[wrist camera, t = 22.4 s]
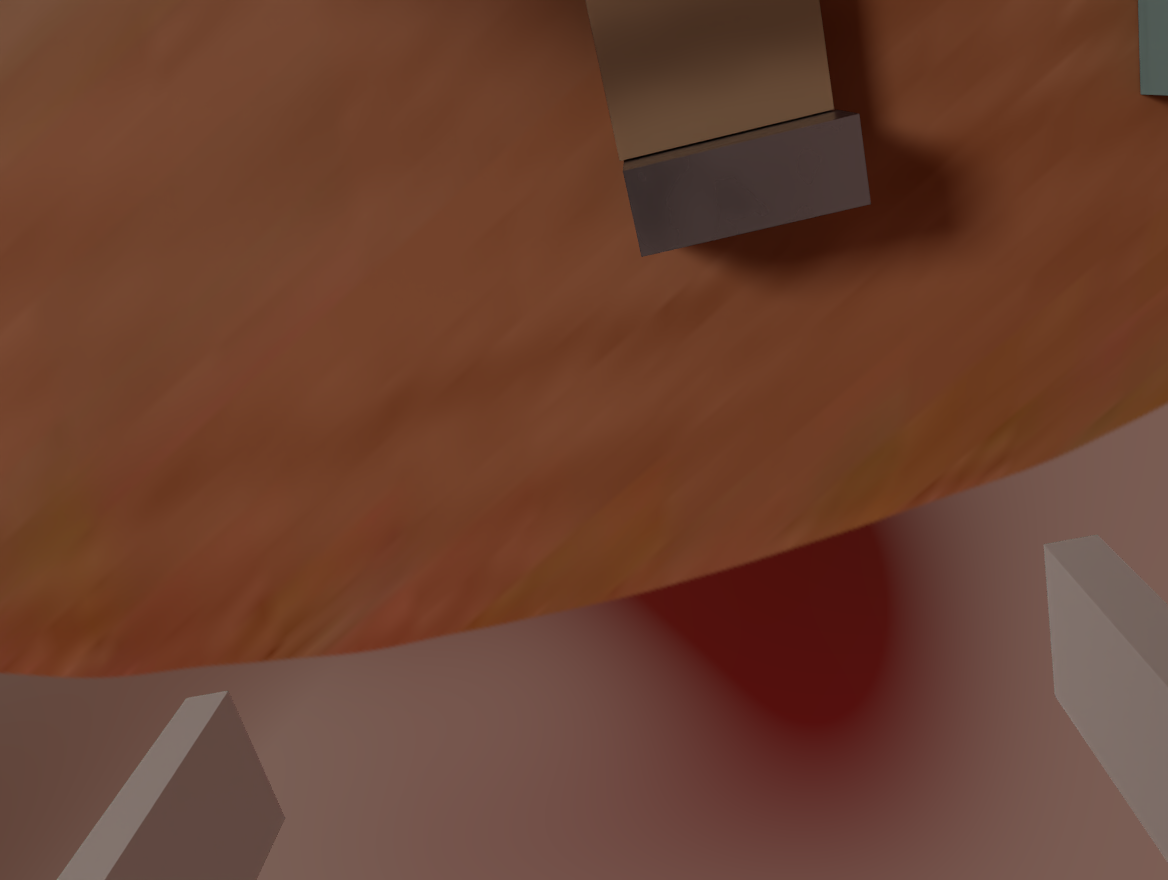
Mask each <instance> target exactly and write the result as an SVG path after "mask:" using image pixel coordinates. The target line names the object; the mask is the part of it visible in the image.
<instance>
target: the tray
mask: <svg viewBox="0 0 1168 880" xmlns="http://www.w3.org/2000/svg"><path fill="white" fill-rule="evenodd" d="M1138 14H1139V50H1140V86H1141V94H1145V95H1168V0H1138Z"/></svg>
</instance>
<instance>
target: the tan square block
mask: <svg viewBox="0 0 1168 880" xmlns="http://www.w3.org/2000/svg"><path fill="white" fill-rule="evenodd" d="M585 1H586V6H587V11H588V15H589V20H590V25H591V29H592V34H593V39H594V43H595V48H596V53H597V57H598V62H599V67H600V71H601V76H602V81H603V85H604V90H605V95H606V99H607V104H608V109H609V113H610V118H611V123H612V127H613V132H614V137H615V141H616V146H617V151H618V155H619V160H620V161H622V160H626V159H630V158H634V157H638V156H642V155H647V154H651V153H655V152H659V151H663V150H667V149H671V148H676V147H680V146H684V145H688V144H692V143H696V142H700V141H705V140H709V139H713V138H717V137H721V136H725V135H729V134H733V133H738V132H742V131H746V130H750V129H754V128H758V127H762V126H767V125H771V124H775V123H779V122H783V121H787V120H791V119H796V118H800V117H804V116H808V115H812V114H816V113H820V112H825V111H829V110H833V109H834V105H833V97H832V90H831V83H830V75H829V68H828V60H827V53H826V46H825V38H824V31H823V23H822V16H821V9H820V1H819V0H585Z"/></svg>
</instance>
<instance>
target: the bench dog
mask: <svg viewBox="0 0 1168 880" xmlns="http://www.w3.org/2000/svg"><path fill="white" fill-rule="evenodd" d="M623 173H624V178H625V182H626V187H627V192H628V196H629V201H630V205H631V210H632V215H633V219H634V224H635V228H636V233H637V238H638V242H639V247H640V252H641V256H642V257H643V256H647V255H652V254H656V253H660V252H665V251H669V250H673V249H678V248H682V247H686V246H691V245H695V244H700V243H704V242H708V241H713V240H717V239H721V238H726V237H730V236H734V235H739V234H743V233H747V232H752V231H756V230H760V229H765V228H769V227H773V226H778V225H782V224H786V223H791V222H795V221H800V220H804V219H808V218H813V217H817V216H821V215H826V214H830V213H834V212H839V211H843V210H847V209H852V208H856V207H860V206H865V205H869V204H871V201H870V193H869V185H868V178H867V170H866V162H865V154H864V146H863V138H862V131H861V123H860V115H859V114H858V113H853V112H847V111H842V110H836V109H833V110H829V111H825V112H820V113H816V114H812V115H808V116H804V117H800V118H796V119H791V120H787V121H783V122H779V123H775V124H771V125H767V126H762V127H758V128H754V129H750V130H746V131H742V132H738V133H733V134H729V135H725V136H721V137H717V138H713V139H709V140H705V141H700V142H696V143H692V144H688V145H684V146H680V147H676V148H671V149H667V150H663V151H659V152H655V153H651V154H647V155H642V156H638V157H634V158H630V159H626V160H624V167H623Z"/></svg>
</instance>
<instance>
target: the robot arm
mask: <svg viewBox="0 0 1168 880" xmlns="http://www.w3.org/2000/svg"><path fill="white" fill-rule="evenodd" d="M1044 556H1045V568H1046V582H1047V596H1048V609H1049V623H1050V636H1051V649H1052V650H1051V651H1052V664H1053V678H1054V691H1055V697H1056V698H1057V699H1058V701H1059V703H1060V704H1061V705H1062V707H1063V708H1064V710H1065V711H1066V713H1067V714H1068V716H1069V717H1070V719H1071V720H1072V722H1073V723H1074V725H1075V726H1076V728H1077V729H1078V731H1079V732H1080V734H1081V735H1082V736H1083V738H1084V739H1085V741H1086V742H1087V744H1088V745H1089V747H1090V748H1091V750H1092V751H1093V753H1094V754H1095V756H1096V757H1097V759H1098V760H1099V761H1100V763H1101V765H1102V766H1103V767H1104V769H1105V771H1106V772H1107V773H1108V775H1109V776H1110V778H1111V779H1112V781H1113V782H1114V784H1115V785H1116V787H1117V788H1118V790H1119V791H1120V793H1121V794H1122V795H1123V797H1124V799H1125V800H1126V802H1127V803H1128V804H1129V806H1130V807H1131V809H1132V810H1133V812H1134V813H1135V815H1136V816H1137V818H1138V819H1139V821H1140V822H1141V824H1142V825H1143V826H1144V828H1145V829H1146V831H1147V833H1148V834H1149V836H1150V837H1151V838H1152V840H1153V841H1154V843H1155V844H1156V846H1157V847H1158V849H1159V850H1160V852H1161V853H1162V855H1163V856H1164V858H1165V859H1166V861H1167V862H1168V605H1167V603H1166V602H1165V601H1164V600H1163V599H1162V598H1161V597H1160V596H1159V595H1158V594H1157V593H1156V592H1155V591H1154V590H1152V588H1151V587H1150V586H1149V585H1148V584H1147V583H1146V582H1145V581H1144V580H1143V579H1142V578H1140V577H1139V575H1138V574H1136V573H1135V572H1134V571H1133V570H1132V569H1131V568H1130V567H1129V566H1128V565H1127V564H1126V563H1125V562H1124V561H1123V560H1122V559H1121V558H1120V557H1119V556H1118V555H1117V554H1116V553H1115V552H1114V551H1113V550H1112V549H1111V548H1110V547H1109V546H1108V545H1107V544H1106V543H1105V542H1104V541H1103V540H1102V539H1101V538H1100V537H1099V536H1098V535H1092V536H1087V537H1081V538H1076V539H1070V540H1065V541H1059V542H1053V543H1048V544H1044ZM284 820H285V817H284V814H283V812H282V810H281V808H280V805H279V803H278V801H277V799H276V797H275V794H274V792H273V790H272V787H271V785H270V783H269V781H268V778H267V776H266V774H265V772H264V769H263V767H262V765H261V763H260V760H259V758H258V756H257V754H256V751H255V749H254V747H253V745H252V743H251V740H250V738H249V736H248V733H247V731H246V729H245V727H244V724H243V722H242V720H241V718H240V715H239V713H238V711H237V709H236V706H235V704H234V702H233V700H232V697H231V695H230V693H229V691H223V692H218V693H213V694H207V695H201V696H195V697H190V698H186V699H185V701H184V702H183V704H182V705H181V706H180V708H179V709H178V711H177V712H176V713H175V715H174V716H173V717H172V719H171V720H170V722H169V723H168V724H167V726H166V727H165V729H164V730H163V732H162V733H161V734H160V736H159V737H158V739H157V740H156V741H155V743H154V744H153V746H152V747H151V748H150V750H149V751H148V752H147V754H146V755H145V757H144V758H143V759H142V761H141V762H140V764H139V765H138V766H137V768H136V769H135V771H134V772H133V773H132V775H131V776H130V778H129V779H128V781H127V782H126V783H125V785H124V786H123V788H122V789H121V790H120V792H119V793H118V795H117V796H116V797H115V799H114V800H113V802H112V803H111V804H110V806H109V807H108V809H107V810H106V811H105V813H104V814H103V816H102V817H101V818H100V820H99V822H98V823H97V824H96V825H95V827H94V828H93V830H92V831H91V833H90V834H89V835H88V837H87V838H86V839H85V841H84V842H83V844H82V845H81V846H80V848H79V849H78V851H77V852H76V853H75V855H74V856H73V858H72V859H71V860H70V862H69V863H68V865H67V866H66V868H65V869H64V870H63V872H62V873H61V874H60V876H59V877H58V879H57V880H257V877H258V875H259V873H260V871H261V869H262V866H263V865H264V862H265V860H266V858H267V856H268V854H269V852H270V849H271V847H272V845H273V843H274V841H275V839H276V837H277V835H278V832H279V830H280V828H281V826H282V824H283V822H284Z"/></svg>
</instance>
